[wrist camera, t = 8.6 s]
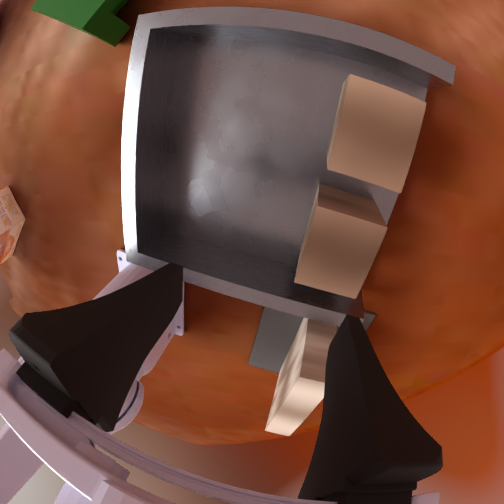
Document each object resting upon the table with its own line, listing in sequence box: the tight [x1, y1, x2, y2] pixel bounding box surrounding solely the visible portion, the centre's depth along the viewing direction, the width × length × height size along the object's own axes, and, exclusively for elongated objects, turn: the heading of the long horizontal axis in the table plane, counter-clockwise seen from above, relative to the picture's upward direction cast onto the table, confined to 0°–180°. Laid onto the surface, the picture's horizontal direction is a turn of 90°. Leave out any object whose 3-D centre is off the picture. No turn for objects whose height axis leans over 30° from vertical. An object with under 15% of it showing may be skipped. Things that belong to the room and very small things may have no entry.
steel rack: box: [121, 7, 456, 327], centre depth 16 cm, size 18×18×5 cm
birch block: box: [265, 318, 337, 436], centre depth 23 cm, size 11×2×8 cm, turn 170°
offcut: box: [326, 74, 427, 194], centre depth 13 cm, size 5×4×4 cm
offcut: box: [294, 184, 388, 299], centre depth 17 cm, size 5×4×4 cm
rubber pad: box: [248, 306, 376, 373], centre depth 26 cm, size 12×10×1 cm
